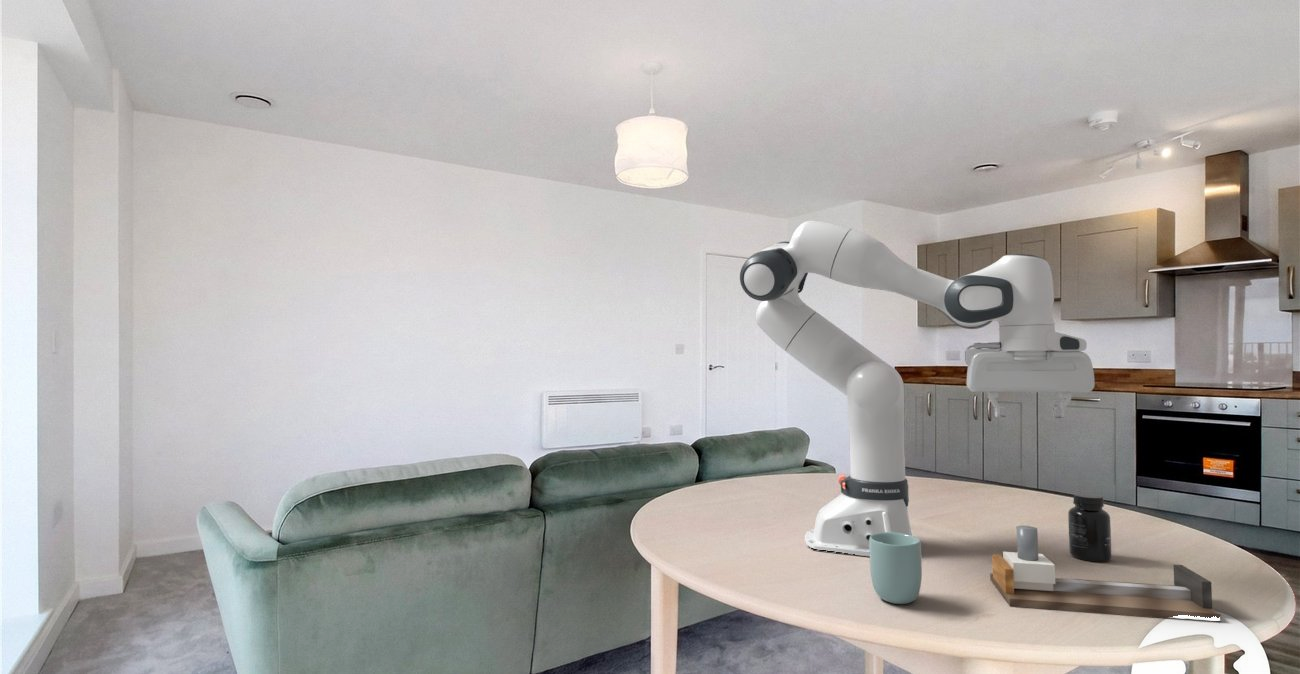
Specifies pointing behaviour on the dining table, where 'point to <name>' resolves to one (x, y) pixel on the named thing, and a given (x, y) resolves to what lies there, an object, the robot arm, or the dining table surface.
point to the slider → (1030, 562)
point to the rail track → (1112, 594)
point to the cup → (895, 566)
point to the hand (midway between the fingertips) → (1029, 417)
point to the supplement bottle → (1089, 529)
